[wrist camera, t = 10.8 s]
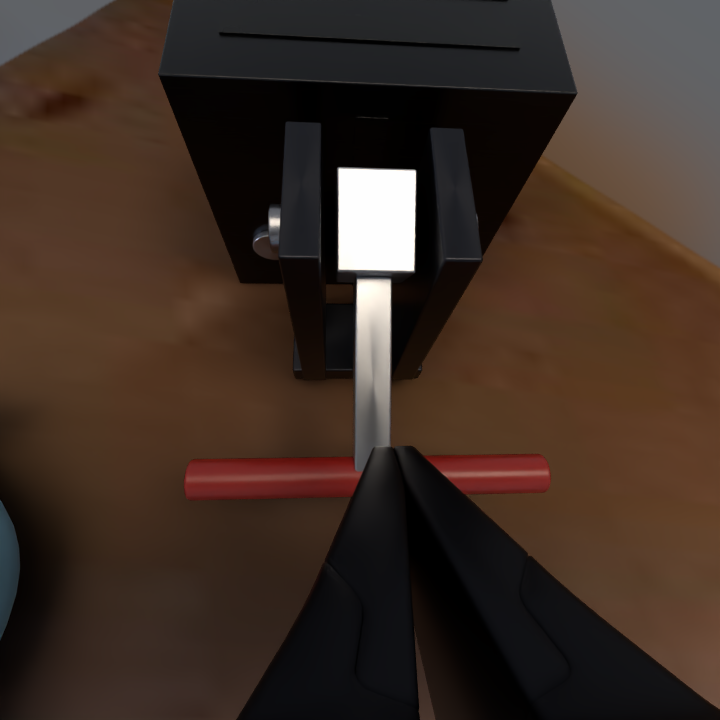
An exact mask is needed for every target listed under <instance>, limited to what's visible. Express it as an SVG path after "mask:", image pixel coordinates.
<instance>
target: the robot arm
mask: <svg viewBox="0 0 720 720" xmlns="http://www.w3.org/2000/svg"><path fill="white" fill-rule="evenodd" d="M414 628H415V632H416V637H417V641H418V645H419V650H420V654H421V658H422V663H423V667H424V671H425V676H426V680H427V684H428V689H429V693H430V697H431V702H432V706H433V710H434V715H435V719H436V720H720V709H718V708H717V707H715V706H713V705H712V704H711V703H709V702H708V701H707V700H705V699H704V698H703V697H701V696H700V695H699V694H697V693H696V692H695V691H693V690H692V689H691V688H690V687H688V686H687V685H686V684H685V683H683V682H682V681H681V680H680V679H678V678H677V677H676V676H675V675H673V674H672V673H671V672H669V671H668V670H667V669H666V668H664V667H663V666H662V665H661V664H659V663H658V662H657V661H656V660H654V659H653V658H652V657H651V656H649V655H648V654H647V653H645V652H644V651H643V650H642V649H640V648H639V647H638V646H637V645H635V644H634V643H633V642H632V641H630V640H629V639H628V638H627V637H625V636H624V635H623V634H621V633H620V632H619V631H618V630H616V629H615V628H614V627H613V626H611V625H610V624H609V623H608V622H606V621H605V620H604V619H603V618H602V617H600V616H599V615H598V614H597V613H595V612H594V611H593V610H592V609H591V608H589V607H588V606H587V605H586V604H584V603H583V602H582V601H581V600H580V599H578V598H577V597H576V596H575V595H574V594H573V593H571V592H570V591H569V590H568V589H567V588H566V587H565V586H564V585H562V584H561V583H560V582H559V581H558V580H557V579H556V578H555V577H553V576H552V575H551V574H550V573H549V572H548V571H547V570H546V569H545V568H544V567H542V566H541V565H540V564H539V563H538V562H537V561H536V560H535V559H534V558H533V557H532V556H528V553H527V552H526V551H525V550H524V549H523V548H522V547H521V546H520V545H519V544H518V543H516V542H515V541H514V540H513V539H512V538H511V537H510V536H509V535H508V534H507V533H506V532H505V531H504V530H502V529H501V528H500V527H499V526H498V525H497V524H496V523H495V522H494V521H493V520H492V519H491V518H490V517H489V516H487V515H486V514H485V513H484V512H483V511H482V510H481V509H480V508H479V507H478V506H477V505H476V504H475V503H474V502H472V501H471V500H470V499H469V498H468V497H467V496H466V495H465V494H464V493H463V492H462V491H461V490H460V489H458V488H457V487H456V486H455V485H454V484H453V483H452V482H451V481H450V480H449V479H448V478H447V477H446V476H445V475H443V474H442V473H441V472H440V471H439V470H438V469H437V468H436V467H435V466H434V465H433V464H432V463H431V462H430V461H428V460H427V459H426V458H425V457H424V456H423V455H422V454H421V453H420V452H419V451H418V450H417V449H416V448H414V447H413V446H396V447H394V449H393V448H392V447H390V446H376V447H374V448H373V449H372V451H371V453H370V456H369V458H368V460H367V463H366V465H365V467H364V470H363V472H362V474H361V477H360V479H359V481H358V484H357V486H356V488H355V491H354V493H353V495H352V498H351V500H350V502H349V504H348V507H347V509H346V511H345V514H344V516H343V518H342V521H341V523H340V525H339V528H338V530H337V532H336V535H335V537H334V539H333V542H332V544H331V546H330V549H329V551H328V553H327V556H326V558H325V562H324V563H323V564H322V567H321V569H320V571H319V574H318V576H317V578H316V581H315V583H314V585H313V587H312V589H311V591H310V593H309V595H308V597H307V600H306V602H305V604H304V606H303V608H302V610H301V611H300V613H299V615H298V617H297V619H296V620H295V622H294V624H293V626H292V628H291V629H290V631H289V633H288V635H287V636H286V638H285V640H284V642H283V643H282V645H281V646H280V648H279V650H278V651H277V653H276V655H275V656H274V658H273V660H272V661H271V663H270V665H269V666H268V668H267V670H266V671H265V673H264V675H263V676H262V678H261V680H260V681H259V683H258V685H257V686H256V688H255V690H254V691H253V693H252V695H251V696H250V698H249V700H248V701H247V703H246V705H245V706H244V708H243V709H242V711H241V713H240V714H239V716H238V718H237V719H236V720H420V716H419V712H418V711H419V699H418V683H417V668H416V653H415V637H414Z"/></svg>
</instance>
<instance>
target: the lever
mask: <svg viewBox="0 0 720 720" xmlns="http://www.w3.org/2000/svg"><path fill="white" fill-rule="evenodd" d="M416 233H417V170H415V169H385V168H353V167H338V168H337V170H336V282H353V457H303V458H238V459H193V460H191V461H190V462H189V464H188V466H187V469H186V472H185V478H184V491H185V496H186V498H187V499H188V500H233V499H279V498H324V497H352V495H353V493H354V491H355V488H356V486H357V484H358V481H359V479H360V477H361V474H362V472H363V470H364V467H365V465H366V463H367V460H368V458H369V456H370V453H371V451H372V449H373V448H374V447H376V446H390V447H391V377H392V283H401V282H403V281H404V280H406V279H407V278H409V277H410V276H411V275H413V274H414V273H415V272H416ZM424 457H425V458H426V459H427V460H428V461H430V462H431V463H432V464H433V465H434V466H435V467H436V468H437V469H438V470H439V471H440V472H441V473H442V474H443V475H445V476H446V477H447V478H448V479H449V480H450V481H451V482H452V483H453V484H454V485H455V486H456V487H457V488H458V489H460V490H461V491H462V492H463V493H464V494H506V493H544V492H546V491H547V490H548V489H549V486H550V481H551V475H550V469H549V465H548V463H547V461H546V459H545V458H544V457H543V456H542V455H540V454H497V455H432V456H424Z"/></svg>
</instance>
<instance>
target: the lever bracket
mask: <svg viewBox="0 0 720 720" xmlns="http://www.w3.org/2000/svg"><path fill="white" fill-rule="evenodd" d="M268 235H269V244H270V248H271V251H272V253H278V259H279V264H280V268H281V273H282V278H283V283H284V288H285V292H286V297H287V302H288V307H289V312H290V316H291V321H292V326H293V331H294V353H293V372H294V376H295V378H303V379H304V380H325V379H326V378H353V304H326V271H325V232H324V194H323V155H322V125H321V123H314V122H288V121H287V122H286V123H285V135H284V154H283V173H282V192H281V204H270V206H269V211H268ZM482 261H483V258H482V251H481V245H480V238H479V231H478V217H477V213H476V211H475V204H474V197H473V190H472V184H471V177H470V170H469V163H468V156H467V150H466V143H465V136H464V130H463V129H461V128H435V127H432V128H430V129H429V132H428V136H427V140H426V144H425V148H424V152H423V156H422V160H421V164H420V168H419V172H418V176H417V233H416V272H415V273H414V274H413V275H411V276H410V277H409V278H407V279H406V280H404V281H403V282H401V283H392V377H391V378H392V379H413V378H418V376H419V375H420V373H421V371H422V362H423V361H424V359H425V357H426V356H427V354H428V352H429V350H430V349H431V347H432V345H433V344H434V342H435V340H436V339H437V337H438V335H439V334H440V332H441V330H442V329H443V327H444V325H445V323H446V322H447V320H448V318H449V317H450V315H451V313H452V312H453V310H454V308H455V307H456V305H457V303H458V302H459V300H460V298H461V297H462V295H463V293H464V291H465V290H466V288H467V286H468V285H469V283H470V281H471V280H472V278H473V276H474V275H475V273H476V271H477V270H478V268H479V266H480V264H481V263H482Z"/></svg>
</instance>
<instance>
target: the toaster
mask: <svg viewBox="0 0 720 720" xmlns="http://www.w3.org/2000/svg"><path fill="white" fill-rule="evenodd" d="M158 75H159V77H160V80H161V82H162V85H163V88H164V90H165V93H166V95H167V98H168V100H169V103H170V105H171V108H172V110H173V113H174V115H175V118H176V121H177V123H178V126H179V128H180V131H181V133H182V136H183V138H184V141H185V143H186V146H187V148H188V151H189V154H190V156H191V159H192V161H193V164H194V166H195V169H196V171H197V174H198V176H199V179H200V182H201V184H202V187H203V189H204V192H205V194H206V197H207V199H208V202H209V204H210V207H211V209H212V212H213V215H214V217H215V220H216V222H217V225H218V227H219V230H220V232H221V235H222V237H223V240H224V242H225V245H226V248H227V250H228V253H229V255H230V258H231V260H232V263H233V265H234V268H235V270H236V273H237V275H238V278H239V281H240V283H283V278H282V273H281V268H280V264H279V259H278V253H272V251H271V248H270V244H269V235H268V211H269V206H270V204H281V192H282V173H283V154H284V135H285V123H286V122H287V121H288V122H314V123H321V125H322V155H323V194H324V232H325V271H326V284H353V282H336V170H337V168H338V167H353V168H385V169H415V170H417V176H418V172H419V168H420V164H421V160H422V156H423V152H424V148H425V144H426V140H427V136H428V132H429V129H430V128H432V127H435V128H461V129H463V130H464V136H465V143H466V150H467V156H468V163H469V170H470V177H471V184H472V190H473V197H474V204H475V211H476V213H477V217H478V231H479V238H480V245H481V251H482V256H483V255H484V253H485V251H486V250H487V248H488V246H489V244H490V243H491V241H492V239H493V238H494V236H495V234H496V232H497V231H498V229H499V227H500V226H501V224H502V222H503V220H504V219H505V217H506V215H507V214H508V212H509V210H510V208H511V207H512V205H513V203H514V202H515V200H516V198H517V196H518V195H519V193H520V191H521V190H522V188H523V186H524V184H525V183H526V181H527V179H528V178H529V176H530V174H531V172H532V171H533V169H534V167H535V166H536V164H537V162H538V160H539V159H540V157H541V155H542V153H543V152H544V150H545V148H546V147H547V145H548V143H549V142H550V140H551V138H552V136H553V134H554V133H555V131H556V129H557V128H558V126H559V124H560V123H561V121H562V119H563V117H564V116H565V114H566V112H567V111H568V109H569V107H570V105H571V103H572V102H573V100H574V99H575V97H576V95H577V89H576V86H575V82H574V79H573V75H572V72H571V68H570V65H569V61H568V58H567V54H566V51H565V47H564V44H563V40H562V37H561V33H560V30H559V26H558V23H557V19H556V16H555V13H554V9H553V6H552V2H551V0H174V1H173V6H172V10H171V15H170V20H169V25H168V30H167V34H166V39H165V44H164V49H163V54H162V58H161V63H160V68H159V73H158Z"/></svg>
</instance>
